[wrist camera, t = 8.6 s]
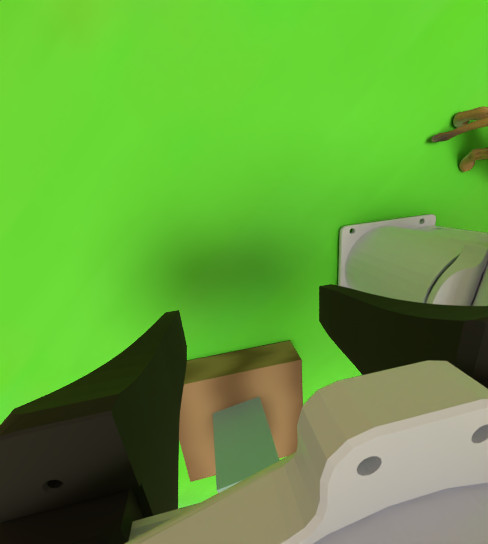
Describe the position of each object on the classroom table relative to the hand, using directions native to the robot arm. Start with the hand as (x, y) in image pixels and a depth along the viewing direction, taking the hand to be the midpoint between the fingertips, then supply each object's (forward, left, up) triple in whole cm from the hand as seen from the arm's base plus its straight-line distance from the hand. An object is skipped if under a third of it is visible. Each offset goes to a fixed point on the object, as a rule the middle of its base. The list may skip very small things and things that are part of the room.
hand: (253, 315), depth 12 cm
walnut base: (+1, +15, -9) cm, 18 cm away
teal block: (+1, +15, -6) cm, 16 cm away
